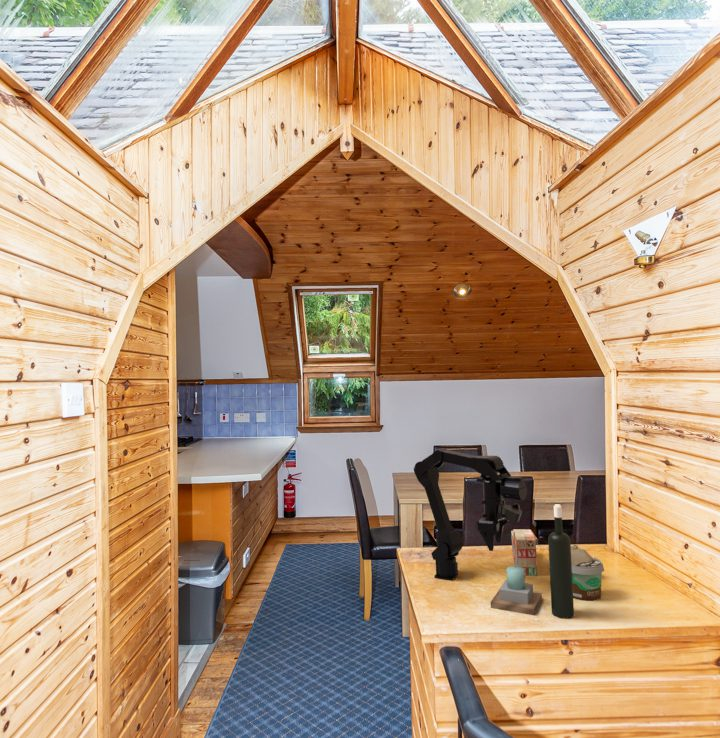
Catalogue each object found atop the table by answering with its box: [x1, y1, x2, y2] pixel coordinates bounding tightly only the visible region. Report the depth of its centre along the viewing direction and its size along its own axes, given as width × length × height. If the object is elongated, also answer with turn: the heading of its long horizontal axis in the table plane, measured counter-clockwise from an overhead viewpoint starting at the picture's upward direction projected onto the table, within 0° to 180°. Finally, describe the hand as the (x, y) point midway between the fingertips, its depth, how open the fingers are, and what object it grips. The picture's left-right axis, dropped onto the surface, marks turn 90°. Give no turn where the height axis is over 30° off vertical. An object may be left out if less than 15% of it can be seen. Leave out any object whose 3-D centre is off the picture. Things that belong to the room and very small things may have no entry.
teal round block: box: [506, 565, 526, 590], centre depth 154 cm, size 5×5×5 cm
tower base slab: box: [490, 590, 543, 616], centre depth 153 cm, size 12×12×2 cm
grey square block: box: [498, 579, 534, 604], centre depth 154 cm, size 8×8×3 cm
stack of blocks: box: [510, 529, 538, 577], centre depth 185 cm, size 21×6×12 cm, turn 169°
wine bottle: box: [547, 503, 575, 619], centre depth 146 cm, size 6×6×30 cm
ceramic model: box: [571, 544, 594, 566], centre depth 174 cm, size 14×11×10 cm
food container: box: [572, 556, 605, 602], centre depth 156 cm, size 12×6×10 cm, turn 117°
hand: (495, 546), depth 166 cm, fingers open, 9 cm apart
